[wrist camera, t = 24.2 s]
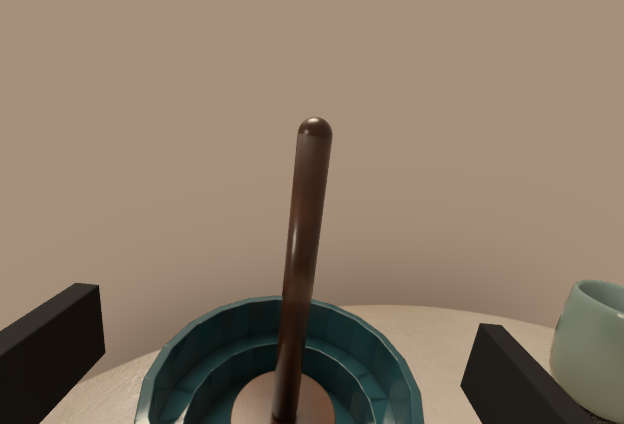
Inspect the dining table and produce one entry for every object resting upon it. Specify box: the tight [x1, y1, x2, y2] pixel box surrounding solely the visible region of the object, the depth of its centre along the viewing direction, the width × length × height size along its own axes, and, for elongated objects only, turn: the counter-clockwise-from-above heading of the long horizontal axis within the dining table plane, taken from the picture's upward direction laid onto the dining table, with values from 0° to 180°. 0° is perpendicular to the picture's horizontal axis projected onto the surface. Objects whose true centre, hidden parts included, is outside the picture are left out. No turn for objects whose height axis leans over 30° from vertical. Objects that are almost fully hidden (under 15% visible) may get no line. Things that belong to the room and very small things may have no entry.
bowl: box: [134, 296, 424, 424], centre depth 18 cm, size 15×15×7 cm
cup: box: [549, 280, 624, 424], centre depth 25 cm, size 8×8×10 cm
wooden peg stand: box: [230, 117, 336, 424], centre depth 16 cm, size 6×6×20 cm
